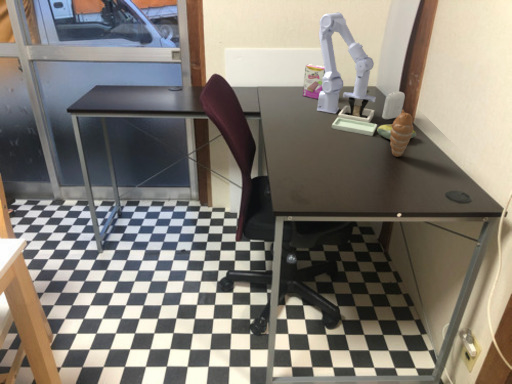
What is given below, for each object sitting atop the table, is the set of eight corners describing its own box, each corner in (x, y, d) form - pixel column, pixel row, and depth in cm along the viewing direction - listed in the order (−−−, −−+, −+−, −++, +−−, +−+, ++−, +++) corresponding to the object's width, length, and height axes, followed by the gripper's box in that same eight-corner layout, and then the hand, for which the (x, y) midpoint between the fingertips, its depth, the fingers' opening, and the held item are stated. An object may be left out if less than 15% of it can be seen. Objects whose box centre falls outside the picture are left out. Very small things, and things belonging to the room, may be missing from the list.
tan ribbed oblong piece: (382, 151, 162) (391, 107, 153) (401, 151, 162) (412, 107, 153) (390, 161, 154) (400, 115, 145) (410, 161, 155) (421, 116, 146)
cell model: (376, 125, 180) (412, 117, 174) (380, 142, 181) (416, 134, 176) (376, 129, 170) (414, 120, 164) (379, 147, 171) (417, 139, 166)
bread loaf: (351, 118, 192) (353, 106, 189) (352, 116, 195) (354, 104, 192) (358, 120, 191) (360, 107, 188) (360, 117, 194) (362, 105, 191)
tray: (331, 128, 181) (331, 124, 180) (336, 121, 189) (337, 117, 188) (372, 135, 175) (373, 132, 174) (376, 128, 183) (377, 124, 182)
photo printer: (394, 114, 200) (400, 89, 194) (401, 116, 197) (407, 91, 191) (380, 117, 195) (385, 92, 189) (387, 120, 192) (392, 94, 186)
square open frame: (337, 120, 190) (338, 114, 188) (344, 111, 201) (345, 105, 199) (367, 125, 185) (368, 119, 183) (373, 116, 196) (374, 110, 195)
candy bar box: (302, 96, 219) (305, 65, 211) (306, 94, 223) (309, 63, 214) (321, 100, 214) (324, 68, 206) (325, 98, 218) (329, 66, 209)
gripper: (343, 85, 184) (339, 114, 191) (375, 90, 179) (370, 119, 186) (346, 81, 190) (342, 109, 197) (378, 86, 185) (373, 114, 192)
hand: (356, 114), depth 192 cm, fingers closed on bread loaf, 4 cm apart
